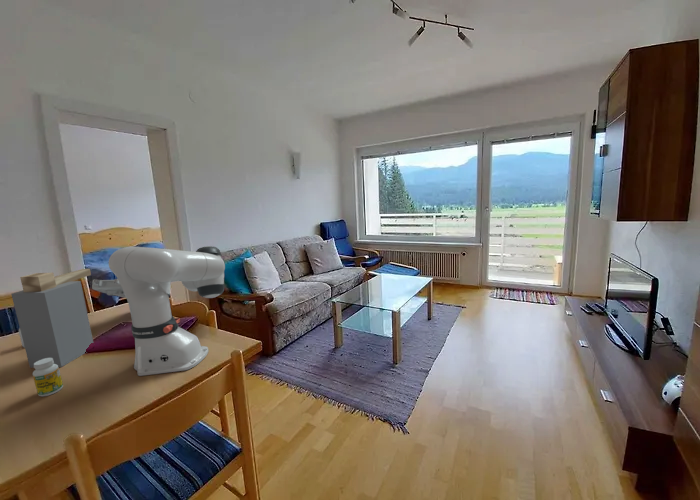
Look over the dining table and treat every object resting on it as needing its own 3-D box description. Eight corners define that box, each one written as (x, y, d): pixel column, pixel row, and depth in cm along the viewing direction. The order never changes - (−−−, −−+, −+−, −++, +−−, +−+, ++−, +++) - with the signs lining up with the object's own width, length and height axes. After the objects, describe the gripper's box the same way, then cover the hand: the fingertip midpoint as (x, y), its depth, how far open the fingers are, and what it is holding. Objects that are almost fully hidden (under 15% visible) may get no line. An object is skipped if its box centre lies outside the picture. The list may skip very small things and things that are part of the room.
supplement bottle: (65, 383, 93) (58, 354, 91) (61, 392, 89) (54, 362, 87) (40, 390, 90) (33, 360, 89) (35, 399, 86) (27, 368, 84)
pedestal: (94, 347, 115) (80, 281, 111) (61, 366, 103) (44, 292, 98) (66, 348, 116) (51, 282, 111) (29, 367, 103) (11, 293, 98)
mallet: (94, 274, 120) (92, 262, 119) (41, 291, 99) (38, 276, 99) (79, 275, 120) (77, 262, 119) (23, 291, 100) (20, 277, 99)
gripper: (149, 294, 140) (127, 287, 127) (105, 295, 140) (79, 289, 127) (152, 280, 142) (131, 272, 129) (109, 282, 143) (83, 274, 129)
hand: (105, 281), depth 128 cm, fingers open, 8 cm apart
